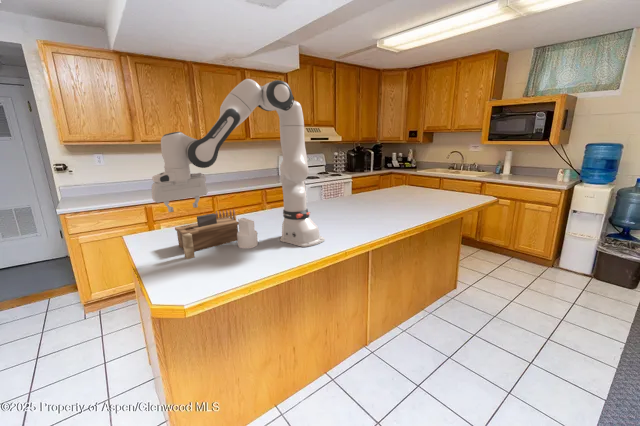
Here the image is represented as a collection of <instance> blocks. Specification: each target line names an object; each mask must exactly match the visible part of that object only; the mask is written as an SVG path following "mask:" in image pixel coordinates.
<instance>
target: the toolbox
mask: <svg viewBox="0 0 640 426" xmlns="http://www.w3.org/2000/svg"><path fill="white" fill-rule="evenodd" d="M238 232H239V225H234V226H230V227H225V228H221V229H216V230H212V231H207V232H203V233H198V234H194V235H192V240H193V247H194V253H195V252H199V251H203V250H206V249H210V248H214V247H218V246H222V245H225V244H230V243H234V242H238V241H237V233H238ZM176 234H177V235H176V236H177V241H178V247H179V248H181V250H183V251H184V247H183V240H182V234H180V233H179V232H177V231H176Z"/></svg>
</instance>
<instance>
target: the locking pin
mask: <svg viewBox="0 0 640 426" xmlns="http://www.w3.org/2000/svg"><path fill="white" fill-rule="evenodd" d="M182 240H183V247H184V250H183V252H184V258H185V259H186V260H190V259H194V258H195V257H196V256H195V252H194V247H193V240H192V234H190V233H187V234H183V235H182Z"/></svg>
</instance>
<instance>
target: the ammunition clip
mask: <svg viewBox="0 0 640 426" xmlns="http://www.w3.org/2000/svg"><path fill="white" fill-rule="evenodd" d="M215 214H216V219H220V218H225V217H228V218H230V219H232V220H235V221H237V216H236V211H235V209H234V208H233V210H232V209H229V211H228V209H226V211H225V210H222V212H221V210H219V212H218V211H217V210H216V211H215Z"/></svg>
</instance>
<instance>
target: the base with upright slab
mask: <svg viewBox="0 0 640 426" xmlns="http://www.w3.org/2000/svg"><path fill="white" fill-rule="evenodd" d="M237 222H238V223H239V225H238V233H237V241H236V242H237V247H238V248H240V249H252V248H256V247H257V246H258V245H259V243H258V242H259V241H258V231H257V230H255V220H252V219H249V218H245V217H241V218H238V219H237Z"/></svg>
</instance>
